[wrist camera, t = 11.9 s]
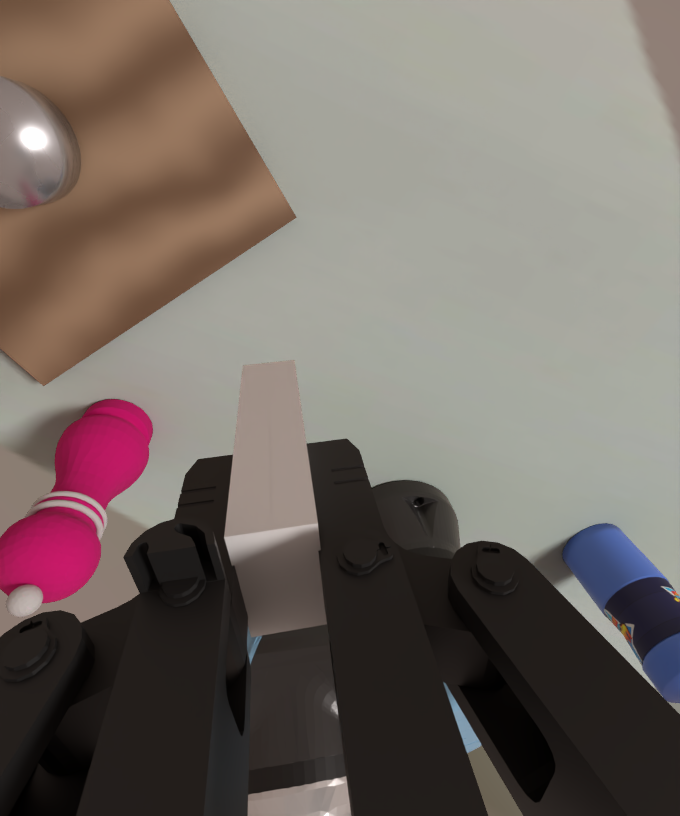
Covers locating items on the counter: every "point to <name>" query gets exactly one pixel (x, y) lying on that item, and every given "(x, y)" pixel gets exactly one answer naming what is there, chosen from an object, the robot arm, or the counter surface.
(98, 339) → the wooden cutting board
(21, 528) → the pepper mill
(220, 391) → the counter surface
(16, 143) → the dark grey dumbbell shape
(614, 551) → the water bottle
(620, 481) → the counter surface
